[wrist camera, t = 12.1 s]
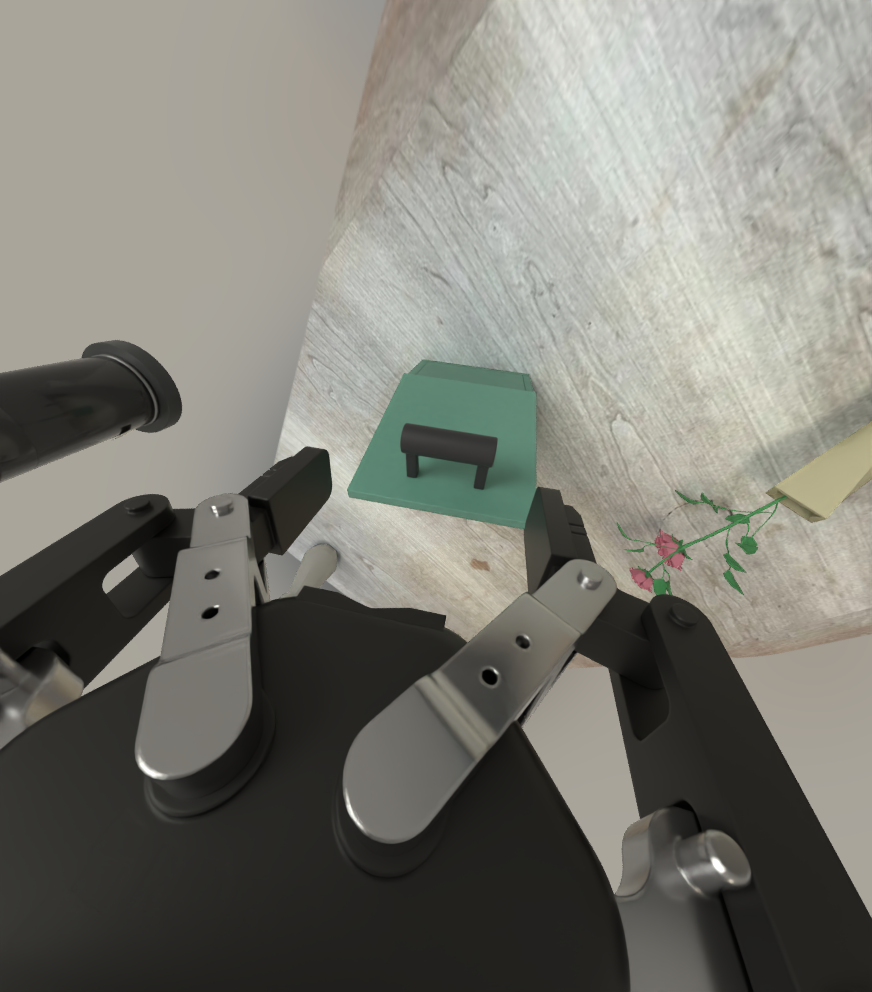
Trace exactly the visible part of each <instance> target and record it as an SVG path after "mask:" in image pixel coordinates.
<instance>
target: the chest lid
mask: <svg viewBox="0 0 872 992" xmlns="http://www.w3.org/2000/svg"><path fill="white" fill-rule="evenodd" d="M347 491H348V495H349V497H351V498H356V499H362V500H367V501H372V502H378V503H383V504H389V505H394V506H399V507H405V508H410V509H416V510H421V511H427V512H432V513H437V514H443V515H448V516H454V517H459V518H464V519H470V520H475V521H481V522H486V523H492V524H497V525H502V526H508V527H513V528H519V529H524V528H525V523H526V519H527V516H528V513H529V510H530V507H531V504H532V501H533V498H534V494H535V491H536V392H530V391H523V390H516V389H510V388H503V387H496V386H489V385H482V384H475V383H468V382H461V381H454V380H448V379H441V378H434V377H427V376H420V375H413V374H406V373H404V375H403V377H402V379H401V381H400V383H399V385H398V387H397V389H396V391H395V393H394V395H393V397H392V399H391V401H390V403H389V405H388V407H387V409H386V411H385V413H384V416H383V418H382V420H381V422H380V424H379V426H378V428H377V430H376V432H375V434H374V436H373V438H372V440H371V442H370V444H369V446H368V448H367V450H366V452H365V454H364V456H363V458H362V460H361V463H360V465H359V467H358V469H357V471H356V473H355V475H354V477H353V479H352V481H351V483H350V485H349V487H348V489H347Z"/></svg>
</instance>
